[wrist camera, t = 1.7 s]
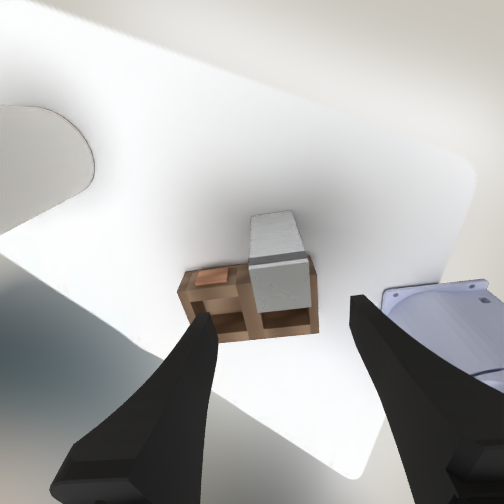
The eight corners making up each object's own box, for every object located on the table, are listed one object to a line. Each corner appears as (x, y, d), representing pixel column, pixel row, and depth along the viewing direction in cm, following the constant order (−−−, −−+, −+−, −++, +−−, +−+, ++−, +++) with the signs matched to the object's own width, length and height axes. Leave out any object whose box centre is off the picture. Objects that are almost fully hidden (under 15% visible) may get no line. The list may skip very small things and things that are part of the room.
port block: (309, 252, 23) (316, 271, 20) (312, 310, 26) (319, 333, 24) (184, 269, 24) (175, 289, 21) (204, 322, 28) (198, 345, 25)
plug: (291, 209, 21) (309, 261, 14) (294, 245, 22) (311, 307, 15) (251, 215, 21) (248, 269, 14) (257, 250, 23) (257, 313, 16)
